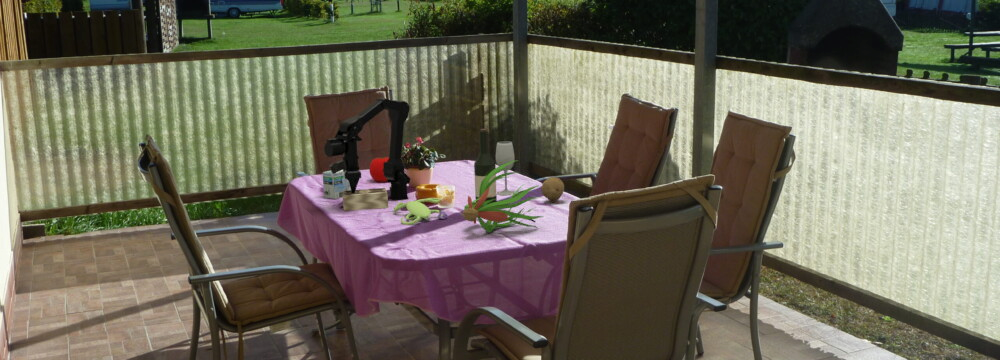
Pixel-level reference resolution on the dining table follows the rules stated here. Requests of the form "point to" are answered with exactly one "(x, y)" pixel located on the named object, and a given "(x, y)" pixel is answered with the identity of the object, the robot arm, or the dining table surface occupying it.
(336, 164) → the robot arm
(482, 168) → the wine bottle
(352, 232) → the dining table surface
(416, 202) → the figurine
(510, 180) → the dining table surface
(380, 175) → the tomato
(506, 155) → the wineglass
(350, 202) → the birch block
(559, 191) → the coconut
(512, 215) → the decorative plant
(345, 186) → the light bulb box
